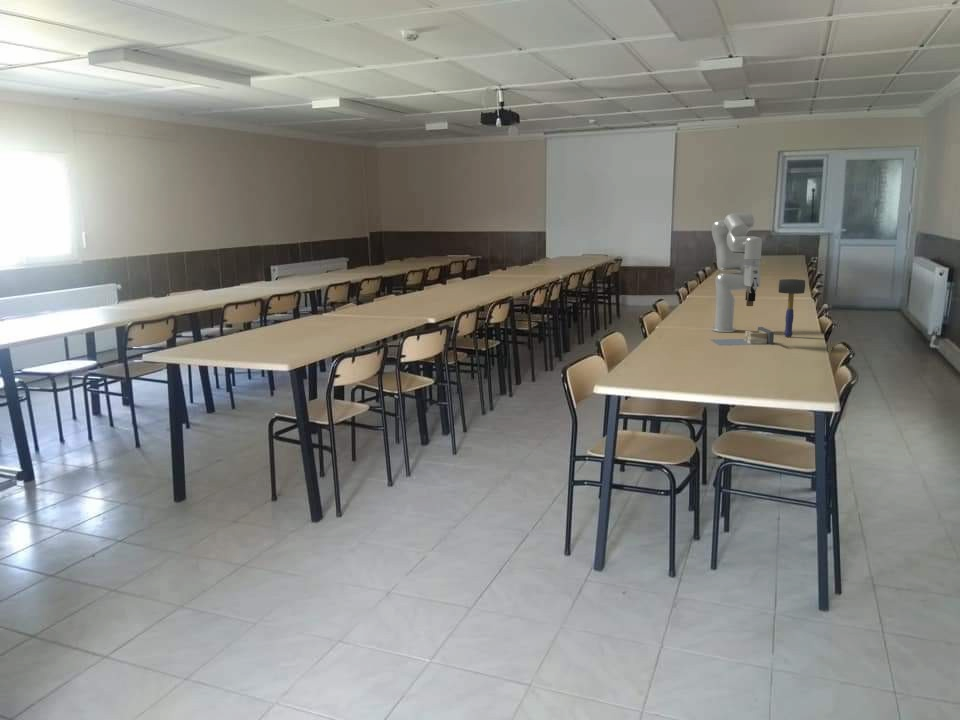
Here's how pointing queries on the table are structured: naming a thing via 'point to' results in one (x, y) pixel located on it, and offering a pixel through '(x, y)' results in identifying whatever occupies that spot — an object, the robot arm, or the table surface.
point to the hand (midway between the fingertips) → (750, 300)
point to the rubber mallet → (790, 299)
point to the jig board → (741, 341)
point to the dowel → (748, 303)
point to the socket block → (756, 337)
